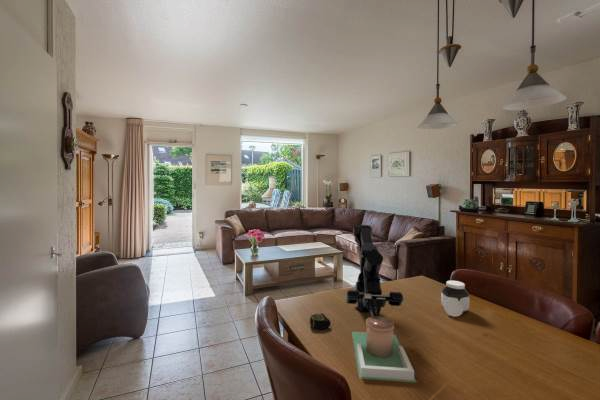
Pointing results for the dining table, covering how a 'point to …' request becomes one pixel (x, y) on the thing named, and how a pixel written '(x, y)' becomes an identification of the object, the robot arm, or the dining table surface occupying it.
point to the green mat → (376, 361)
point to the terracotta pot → (379, 336)
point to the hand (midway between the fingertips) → (376, 322)
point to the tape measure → (319, 321)
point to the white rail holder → (386, 372)
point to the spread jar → (455, 298)
